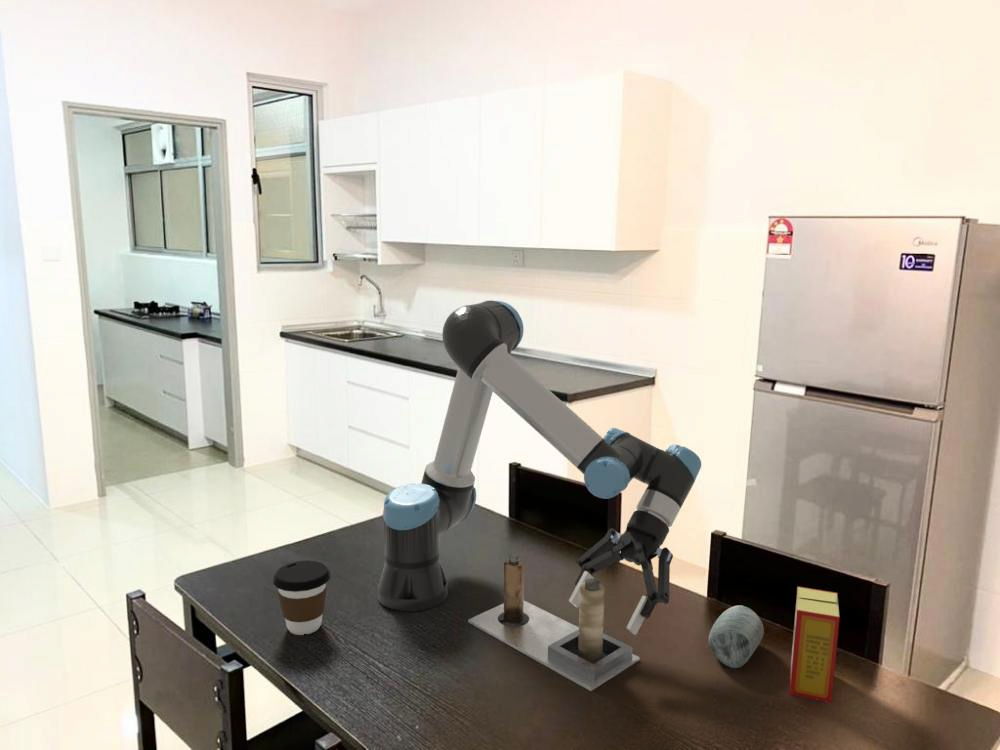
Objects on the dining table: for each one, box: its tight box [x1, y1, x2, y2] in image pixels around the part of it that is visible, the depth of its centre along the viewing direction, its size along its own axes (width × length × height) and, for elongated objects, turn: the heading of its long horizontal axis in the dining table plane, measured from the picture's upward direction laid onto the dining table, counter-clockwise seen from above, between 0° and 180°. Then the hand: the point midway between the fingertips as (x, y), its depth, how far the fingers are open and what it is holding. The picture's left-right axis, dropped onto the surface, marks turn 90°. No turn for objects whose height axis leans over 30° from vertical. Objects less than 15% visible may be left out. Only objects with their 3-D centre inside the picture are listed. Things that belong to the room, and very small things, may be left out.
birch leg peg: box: [578, 577, 605, 664], centre depth 139 cm, size 4×4×15 cm
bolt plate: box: [467, 553, 640, 692], centre depth 146 cm, size 32×14×14 cm, turn 44°
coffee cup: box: [272, 560, 331, 636], centre depth 151 cm, size 11×11×12 cm
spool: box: [708, 605, 765, 669], centre depth 142 cm, size 14×10×10 cm
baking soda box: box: [789, 586, 840, 703], centre depth 132 cm, size 10×6×16 cm
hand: (601, 617), depth 140 cm, fingers open, 13 cm apart
